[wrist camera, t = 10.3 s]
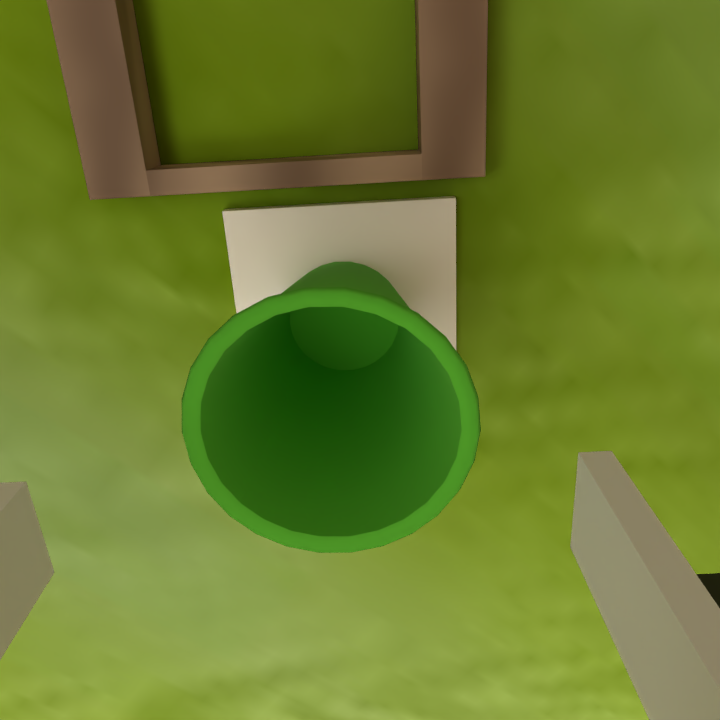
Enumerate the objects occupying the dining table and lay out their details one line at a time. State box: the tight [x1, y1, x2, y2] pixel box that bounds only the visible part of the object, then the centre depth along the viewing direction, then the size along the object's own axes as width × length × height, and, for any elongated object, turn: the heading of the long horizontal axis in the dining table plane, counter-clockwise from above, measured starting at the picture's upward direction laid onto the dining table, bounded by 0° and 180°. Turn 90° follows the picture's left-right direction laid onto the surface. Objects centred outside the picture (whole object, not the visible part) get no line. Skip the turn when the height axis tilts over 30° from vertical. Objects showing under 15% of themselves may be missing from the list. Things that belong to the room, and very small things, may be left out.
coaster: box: [222, 196, 456, 350], centre depth 30 cm, size 10×10×1 cm
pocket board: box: [47, 0, 488, 200], centre depth 24 cm, size 16×13×2 cm
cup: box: [182, 262, 481, 553], centre depth 24 cm, size 9×9×11 cm
